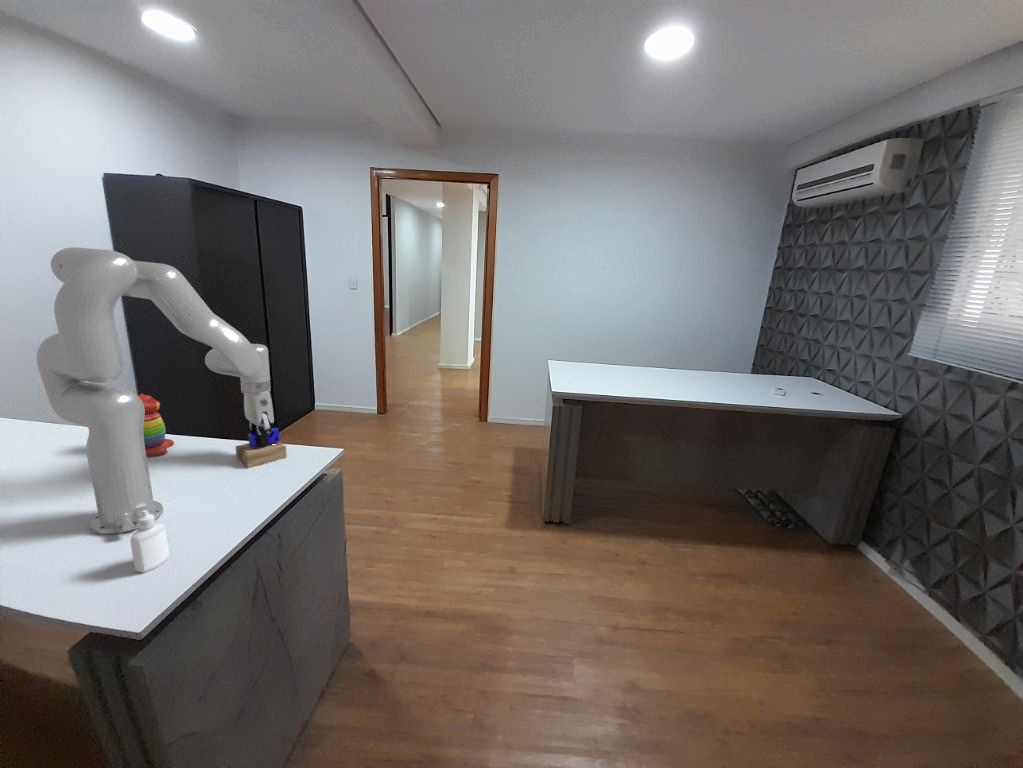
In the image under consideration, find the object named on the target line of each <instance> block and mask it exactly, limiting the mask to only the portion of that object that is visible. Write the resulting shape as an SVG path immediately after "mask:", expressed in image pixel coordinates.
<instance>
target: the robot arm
mask: <svg viewBox="0 0 1023 768" xmlns="http://www.w3.org/2000/svg"><path fill="white" fill-rule="evenodd" d="M50 268H51V271H52V274H53V275H54V276H55V278H56V279H57V280H59V281H60V282H61V283H63V284H62V285H61V287H60V288H59V290H58V292H57V294H56V295H55V296H56V297H55V300H54V305H53V308H54V310H53V311H54V319H55V322H56V328H57V331H58V333H55V334H52V335H50V336H48V337H47V338H45V339H44V340H43V341H42V342H41V343H40V344H39V346H38V348H37V352H36V365H37V367H38V368H37V369H38V371H39V375H40V377H41V380H42V383H43V388H44V390H45V392H46V396H47V398H48V401H49V402H48V403H49V404H50V407H51V408H52V410H53V412H54V413H55V414H56V415H57V416H58V417H59V418H60V419H62V420H64V421H66V422H69V423H72V424H75V425H79V426H83V427H86V428H88V437H87V441H86V445H85V447H86V449H85V451H86V452H85V453H86V458H87V463H88V467H89V473H90V479H91V482H92V489H93V493H94V497H95V499H94V500H95V503H96V510H97V514H96V515H95V516H94V517H92V519H91V520H90V523H89V525H90V530H91V531H92V532H94V533H98V534H102V535H114V534H120V533H126V532H127V533H128V532H132V531H134V530H138V529H139V524H138V518H139V517H140V516H142V512H143V511H144V510H147V511H148V513H149V514H153V515H154V519H155V521H156V520H157V519H158V518H160V517H161V515H163V512H164V507H163V504H162V503H161V502H159V501H156V500H154V498H153V491H152V483H151V478H150V470H149V465H148V459H147V458H148V457H146V451H145V444H144V435H143V426H144V416H145V409H144V404H143V402H142V400H141V399H140V398H139V397H138V396H139V395H137V394H136V393H134V392H132V391H131V390H129V389H126V388H124V387H123V388H122V387H120V386H115V385H109V384H105V383H111V382H113V381H115V380H117V379H118V378H120V377H121V376H122V374H124V371H125V365H126V364H125V357H124V352H123V349H122V345H121V341H120V338H119V335H118V331H117V326H116V321H115V320H116V319H115V308H116V305H117V303H118V301H119V300H120V298H121V297H133V298H139V299H140V298H141V299H146V300H147V299H148V300H150V301H152V303H154V305H155V306H156V307H157V308H158V309H159V310H160V311H161V312H162V313H163V315H165V317H166V318H167V319H168V320H169V321H170V322H171V324H172V325H173V326H174V327H175V328H176V329H177V330H178V331H179V332H180V333H182V334H184V335H185V336H187V337H189V338H191V339H193V340H195V341H197V342H200V343H202V344H204V345H206V346H209V347H211V349H210V350H209V351H208V352H207V353H206V355H205V357H204V363H205V365H206V367H207V368H208V369H209V371H212V372H214V373H217V374H221V375H226V376H231V377H236V378H237V377H238V378H239V379H240V390H241V393H242V394H243V409H244V416H245V419H246V420H248V421H249V422H248V423H249V429H250V431H249V432H250V433H255V434H257V435H256V439H257V447H262V446H266V445H269V436H268V433H269V432H270V431H269V430H271V426H270V425H271V424H274V422H275V417H274V407H273V401H272V400H273V399H272V395H271V387H272V386H271V375H270V360H269V358H270V357H269V349H268V347H267V346H266V345H264V344H260V343H251V342H250V341H249V340H248V339H247V338H246V336H244V334H242V333H241V332H240V331H239V330H237V329H236V328H235V327H234V326H232V325H231V324H229V323H228V322H226V321H225V320H224V319H223V318H221V317H220V316H218V315H216V314H215V313H214V312H213V311H212V310H211V309H210V307H209V306H208V305H207V303H206V302H205V301H204V300H203V299H202V297H201V296H200V295H199V293H198V292H197V291H196V289H195V288H194V287H193V286H192V285H191V283H190V282H189V281H188V280H187V278H186V277H185V276H184V275H183V273H181V271H180V270H178V269H177V268H175V267H174V266H172V265H169V264H165V263H160V262H159V263H158V262H149V261H140V260H133V259H132V258H130V257H129V256H128V255H126V254H124V253H123V252H118V251H116V250H115V251H114V250H110V249H100V248H90V247H88V248H87V247H73V246H72V247H66V248H62V249H60V250H59V251H56V252H55V254H54V255H53V256H52V257H51V261H50ZM250 433H249V434H250Z"/></svg>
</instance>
